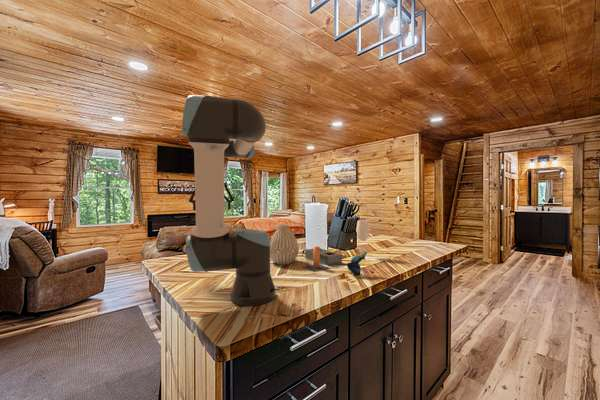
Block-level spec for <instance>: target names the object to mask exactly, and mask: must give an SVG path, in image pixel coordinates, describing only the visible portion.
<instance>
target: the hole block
mask: <svg viewBox="0 0 600 400" xmlns="http://www.w3.org/2000/svg"><path fill="white" fill-rule="evenodd" d="M305 259H307V260H310V261H312V262H313V248H308V249H305ZM340 264H341V265H342V264H343V254H342V253H340V252H339V253H338V252H335V251H332V250H328V249H325V248H320V265H323V266H326V267H331V266H335V265H340Z"/></svg>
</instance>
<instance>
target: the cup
mask: <svg viewBox="0 0 600 400" xmlns="http://www.w3.org/2000/svg"><path fill="white" fill-rule="evenodd" d="M370 231H371V230H370V220H369V219H368V220H367V219H359V220H357V222H356V233H357V237H358V239H359V240H360V241H361V242H365V241H367V239H369V236H370Z"/></svg>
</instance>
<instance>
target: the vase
mask: <svg viewBox="0 0 600 400" xmlns="http://www.w3.org/2000/svg"><path fill="white" fill-rule="evenodd" d="M270 245H271V246H270V261H272V262H273V263H274V264H276V265H281V266H282V265H285V266H286V265H290V264H293V262H295V260H296V259H297V258H298V255H299V249H300V248H299V242H298V240H297V238H296V236H295V234H294V233H293V232H292V230H291V229H290V226H289V224H287V223H282V224H278V225H277V227H276V230H275V231H274V233H273V234H272V236H271V238H270Z"/></svg>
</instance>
